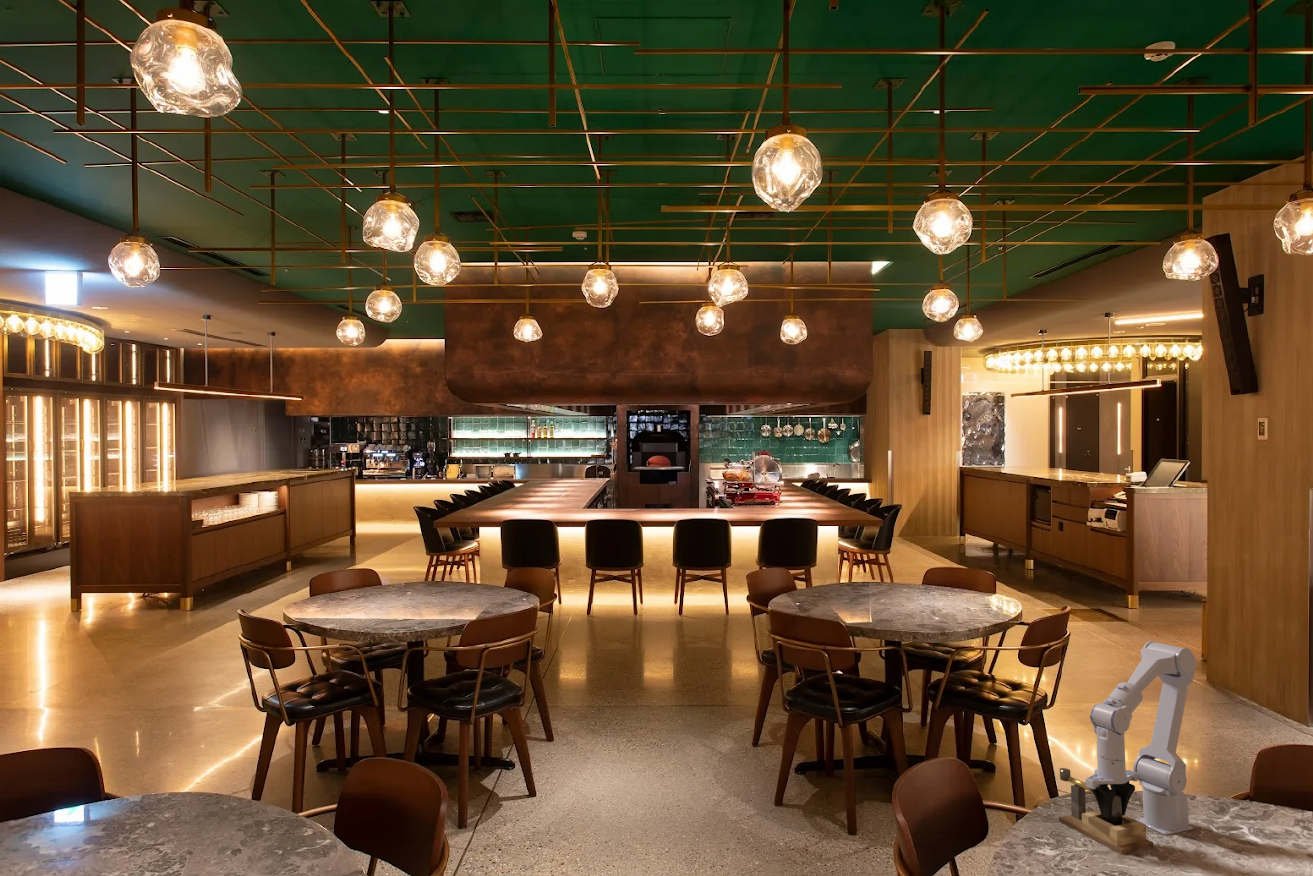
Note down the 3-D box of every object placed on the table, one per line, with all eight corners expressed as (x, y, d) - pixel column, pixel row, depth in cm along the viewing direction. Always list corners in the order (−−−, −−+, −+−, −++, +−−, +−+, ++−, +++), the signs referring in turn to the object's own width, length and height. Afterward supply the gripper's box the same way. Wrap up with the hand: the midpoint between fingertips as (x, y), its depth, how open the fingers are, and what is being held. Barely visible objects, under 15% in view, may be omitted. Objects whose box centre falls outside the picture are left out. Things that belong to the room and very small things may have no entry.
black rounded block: (1126, 825, 174) (1125, 795, 174) (1114, 828, 172) (1113, 798, 173) (1110, 818, 178) (1109, 789, 178) (1099, 821, 176) (1097, 791, 177)
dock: (1088, 815, 187) (1087, 781, 187) (1153, 847, 171) (1152, 809, 171) (1058, 821, 183) (1057, 787, 184) (1121, 854, 167) (1120, 816, 168)
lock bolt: (1064, 777, 189) (1064, 767, 189) (1095, 791, 181) (1095, 781, 181) (1057, 778, 188) (1057, 768, 189) (1088, 792, 180) (1088, 782, 180)
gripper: (1118, 747, 182) (1120, 803, 181) (1073, 754, 177) (1075, 812, 176) (1145, 757, 175) (1147, 816, 175) (1099, 765, 171) (1101, 825, 170)
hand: (1113, 815), depth 175 cm, fingers closed on black rounded block, 4 cm apart
